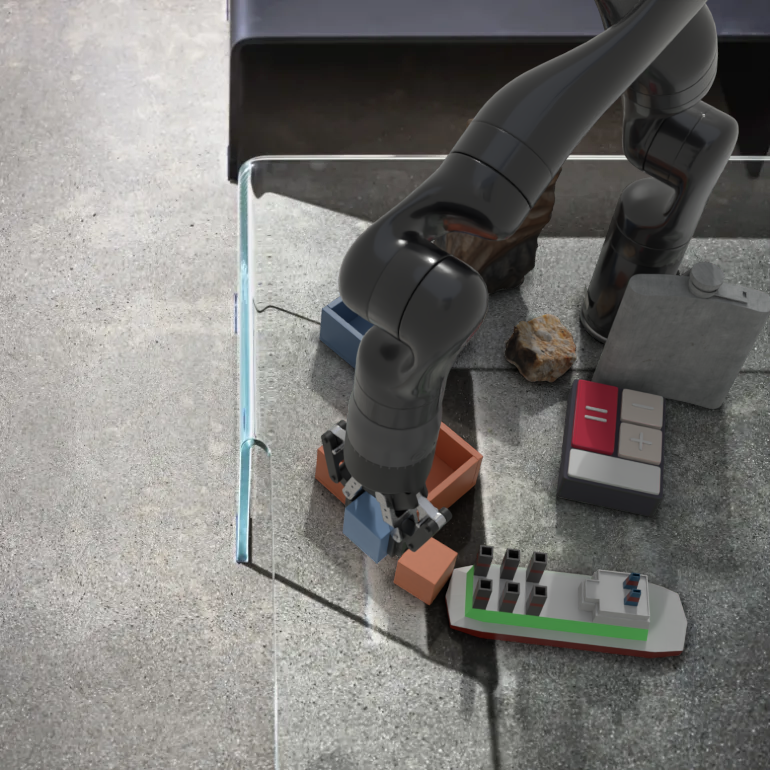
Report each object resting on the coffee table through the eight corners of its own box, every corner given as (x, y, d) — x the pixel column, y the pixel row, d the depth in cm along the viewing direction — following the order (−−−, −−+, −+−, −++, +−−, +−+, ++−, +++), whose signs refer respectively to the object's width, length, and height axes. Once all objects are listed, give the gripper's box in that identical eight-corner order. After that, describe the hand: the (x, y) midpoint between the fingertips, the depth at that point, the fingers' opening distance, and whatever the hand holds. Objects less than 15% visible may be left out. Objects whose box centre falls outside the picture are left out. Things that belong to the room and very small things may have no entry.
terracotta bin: (394, 415, 133) (399, 386, 129) (475, 484, 128) (483, 456, 124) (314, 477, 127) (317, 448, 122) (397, 552, 122) (402, 524, 118)
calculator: (668, 392, 134) (665, 495, 124) (658, 416, 137) (654, 518, 127) (575, 373, 135) (564, 474, 125) (566, 397, 138) (555, 497, 128)
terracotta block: (416, 552, 122) (421, 530, 119) (452, 574, 121) (458, 553, 118) (392, 582, 120) (397, 561, 116) (429, 606, 119) (435, 585, 115)
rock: (541, 399, 137) (600, 350, 140) (535, 366, 132) (596, 316, 135) (491, 364, 142) (549, 318, 145) (484, 331, 138) (544, 284, 141)
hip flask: (591, 392, 138) (635, 277, 122) (591, 366, 140) (634, 250, 125) (723, 410, 138) (784, 298, 122) (720, 384, 140) (780, 270, 125)
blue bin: (391, 288, 145) (396, 257, 141) (466, 346, 140) (473, 316, 136) (319, 339, 139) (321, 308, 135) (394, 402, 134) (398, 372, 130)
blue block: (376, 504, 109) (379, 478, 106) (410, 534, 107) (415, 509, 104) (342, 532, 107) (344, 507, 103) (376, 564, 105) (380, 540, 102)
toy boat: (446, 565, 122) (457, 526, 115) (681, 593, 122) (704, 556, 116) (442, 633, 117) (453, 596, 111) (687, 662, 117) (711, 627, 111)
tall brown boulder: (426, 231, 152) (446, 110, 136) (519, 230, 154) (550, 109, 138) (440, 304, 144) (464, 184, 129) (538, 301, 146) (573, 182, 130)
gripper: (489, 454, 93) (460, 557, 106) (362, 350, 98) (350, 461, 111) (425, 509, 89) (404, 609, 103) (298, 398, 94) (293, 507, 108)
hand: (376, 531), depth 107 cm, fingers closed on blue block, 4 cm apart
